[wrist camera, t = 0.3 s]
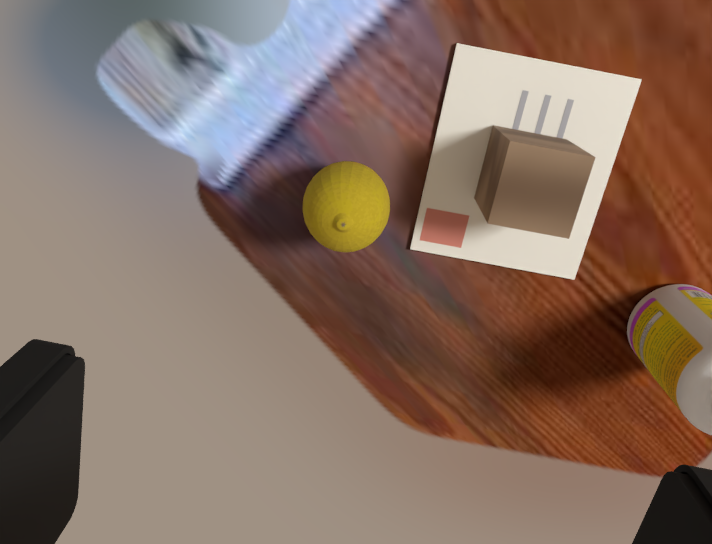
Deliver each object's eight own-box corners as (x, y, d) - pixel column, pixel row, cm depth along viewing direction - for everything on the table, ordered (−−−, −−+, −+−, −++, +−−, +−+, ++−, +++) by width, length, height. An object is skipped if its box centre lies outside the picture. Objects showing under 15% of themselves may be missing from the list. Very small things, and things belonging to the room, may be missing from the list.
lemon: (370, 240, 45) (367, 283, 38) (298, 210, 44) (281, 247, 37) (402, 170, 43) (406, 201, 36) (327, 137, 43) (316, 161, 35)
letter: (456, 43, 40) (457, 43, 40) (639, 79, 40) (641, 79, 40) (410, 247, 45) (410, 249, 45) (573, 278, 46) (574, 279, 45)
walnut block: (492, 125, 42) (510, 140, 36) (566, 139, 42) (595, 157, 36) (474, 197, 43) (487, 223, 38) (545, 211, 43) (569, 239, 38)
